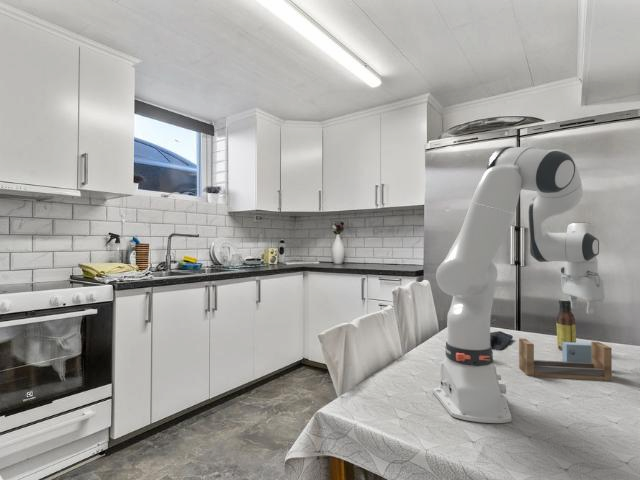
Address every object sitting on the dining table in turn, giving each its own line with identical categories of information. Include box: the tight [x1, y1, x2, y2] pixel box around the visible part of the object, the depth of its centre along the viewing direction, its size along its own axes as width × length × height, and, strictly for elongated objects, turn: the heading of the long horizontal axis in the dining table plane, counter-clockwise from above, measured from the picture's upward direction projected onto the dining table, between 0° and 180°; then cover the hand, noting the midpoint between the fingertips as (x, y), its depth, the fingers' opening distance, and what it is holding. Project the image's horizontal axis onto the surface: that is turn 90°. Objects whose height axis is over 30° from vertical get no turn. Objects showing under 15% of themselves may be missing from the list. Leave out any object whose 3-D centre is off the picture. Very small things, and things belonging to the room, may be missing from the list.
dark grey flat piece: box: [490, 330, 514, 351], centre depth 153 cm, size 15×22×5 cm
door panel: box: [561, 342, 592, 363], centre depth 122 cm, size 4×10×8 cm, turn 80°
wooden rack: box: [518, 337, 613, 382], centre depth 116 cm, size 8×24×10 cm, turn 80°
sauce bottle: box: [556, 298, 577, 351], centre depth 142 cm, size 7×6×20 cm
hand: (582, 311), depth 122 cm, fingers open, 8 cm apart
